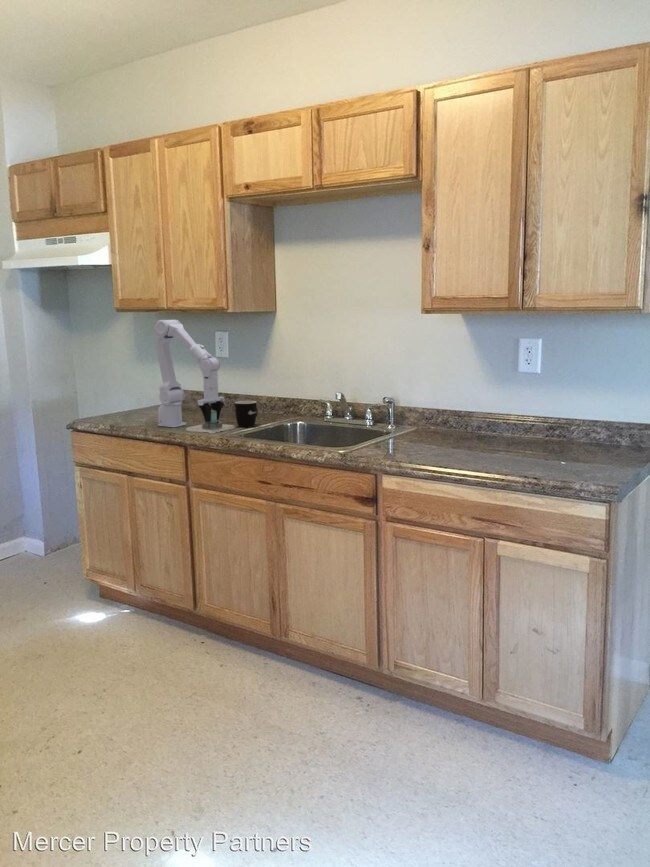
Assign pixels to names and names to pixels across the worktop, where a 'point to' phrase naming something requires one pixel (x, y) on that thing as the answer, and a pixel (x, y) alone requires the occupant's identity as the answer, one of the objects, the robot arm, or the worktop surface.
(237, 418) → the mug
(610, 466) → the worktop surface
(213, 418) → the knob
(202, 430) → the panel
